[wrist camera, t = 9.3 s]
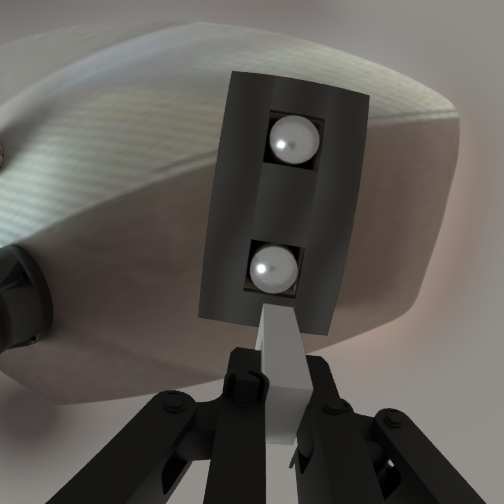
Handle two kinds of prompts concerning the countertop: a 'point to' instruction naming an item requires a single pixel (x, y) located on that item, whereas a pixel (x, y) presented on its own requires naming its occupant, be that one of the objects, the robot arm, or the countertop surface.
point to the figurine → (1, 155)
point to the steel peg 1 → (293, 141)
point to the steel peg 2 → (273, 267)
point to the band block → (282, 199)
